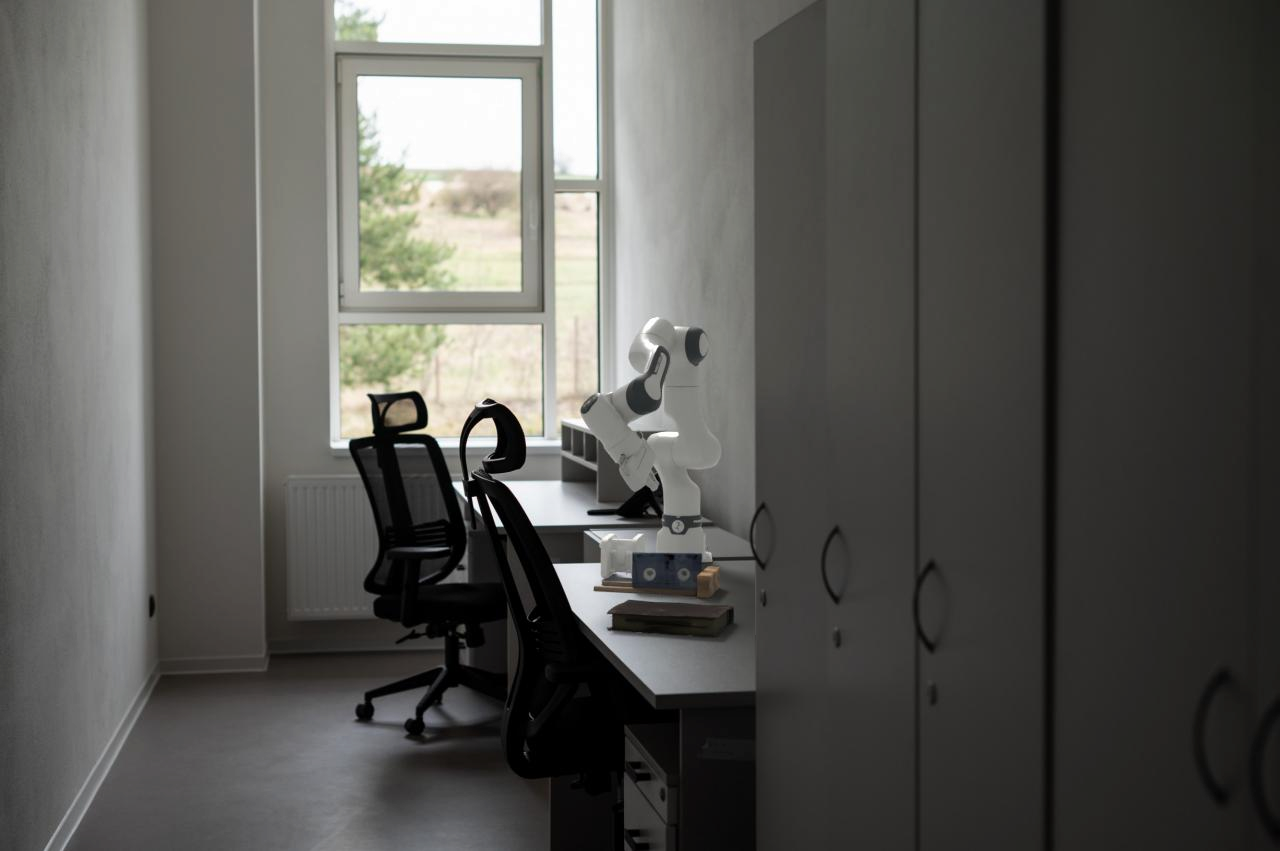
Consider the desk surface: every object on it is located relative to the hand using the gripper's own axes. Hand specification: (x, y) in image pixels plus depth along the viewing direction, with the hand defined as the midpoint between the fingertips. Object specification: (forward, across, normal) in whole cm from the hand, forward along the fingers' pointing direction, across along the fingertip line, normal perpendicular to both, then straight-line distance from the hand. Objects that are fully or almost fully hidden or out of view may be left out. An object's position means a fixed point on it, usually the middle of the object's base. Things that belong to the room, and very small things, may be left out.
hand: (656, 488), depth 338 cm
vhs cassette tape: (+21, -16, +9) cm, 28 cm away
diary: (+14, -59, -6) cm, 61 cm away
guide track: (+19, -16, +11) cm, 27 cm away
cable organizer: (+17, +2, +25) cm, 31 cm away
